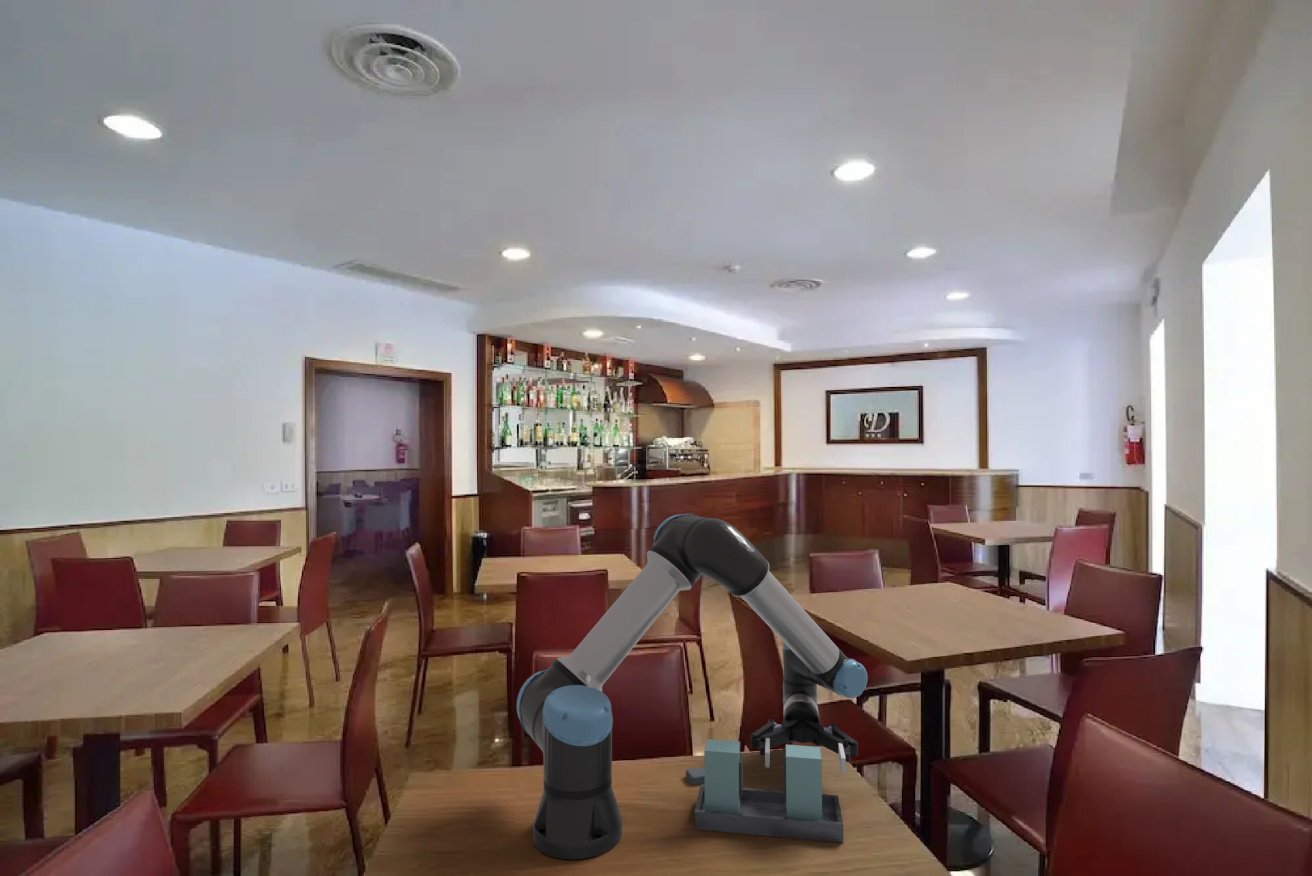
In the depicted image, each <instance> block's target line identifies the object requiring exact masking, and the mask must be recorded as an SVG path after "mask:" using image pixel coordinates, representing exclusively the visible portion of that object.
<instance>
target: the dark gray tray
mask: <svg viewBox="0 0 1312 876" xmlns="http://www.w3.org/2000/svg"><path fill="white" fill-rule="evenodd" d="M699 786H700V787H699V790H698V795H697V800H696V803H695V804H696V805H695V807H694V830H700V831H710V832H721V833H732V834H741V835H743V834H744V835H751V836H754V835H755V836H764V837H765V836H766V837H773V838H787V839H797V840H798V839H799V840H809V841H819V842H829V843H830V842H832V843H841V844H843V843H844V821H843V820H844V819H843V815H842V810H841V805H840V800H839V799H840V798H839V795H838V794H825V793H822V820H812V819H801V818H789V817H786V801H783V790H777V789H775V790H774V789H765V788H764V789H763V788H753V787H752V788H751V787H743V791H742V798H740V810H739V813H732V812H720V811H709V810H705V784H700V785H699Z"/></svg>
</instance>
